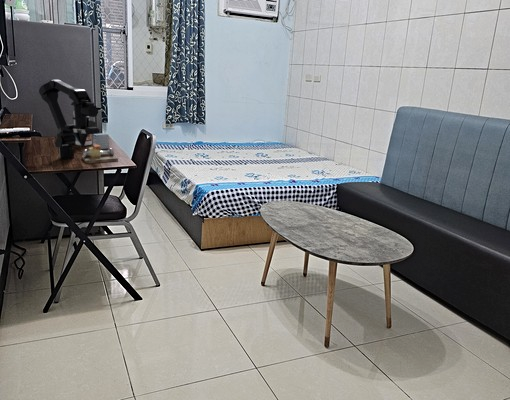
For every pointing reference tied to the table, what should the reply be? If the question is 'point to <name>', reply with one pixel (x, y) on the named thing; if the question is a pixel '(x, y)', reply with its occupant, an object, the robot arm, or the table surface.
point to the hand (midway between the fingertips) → (83, 145)
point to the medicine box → (101, 140)
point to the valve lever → (96, 146)
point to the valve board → (100, 159)
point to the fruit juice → (88, 140)
